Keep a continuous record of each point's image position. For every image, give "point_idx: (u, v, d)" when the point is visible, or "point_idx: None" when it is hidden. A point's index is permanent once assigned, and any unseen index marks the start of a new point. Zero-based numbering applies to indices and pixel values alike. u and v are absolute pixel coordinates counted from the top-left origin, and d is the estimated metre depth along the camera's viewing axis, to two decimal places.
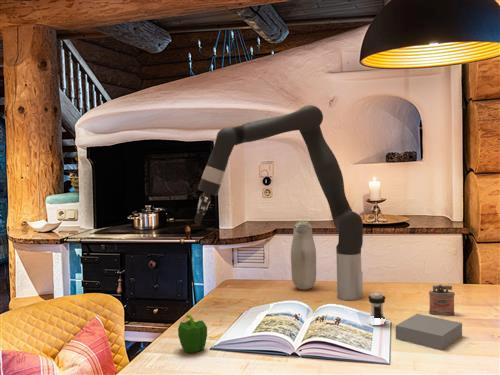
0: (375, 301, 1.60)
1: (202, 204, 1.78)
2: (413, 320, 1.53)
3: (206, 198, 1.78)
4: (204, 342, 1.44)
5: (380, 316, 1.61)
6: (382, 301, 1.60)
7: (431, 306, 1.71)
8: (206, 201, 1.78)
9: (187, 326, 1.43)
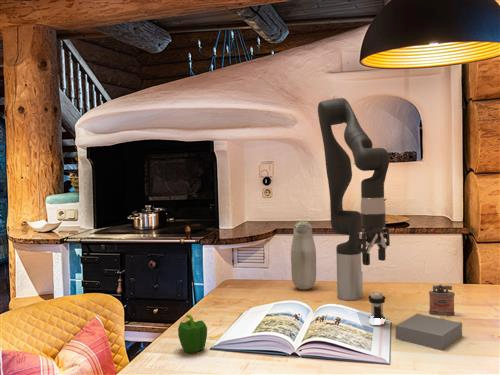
0: (375, 301, 1.60)
1: None
2: (413, 320, 1.53)
3: None
4: (204, 342, 1.44)
5: (380, 316, 1.61)
6: (382, 301, 1.60)
7: (431, 306, 1.71)
8: None
9: (187, 326, 1.43)
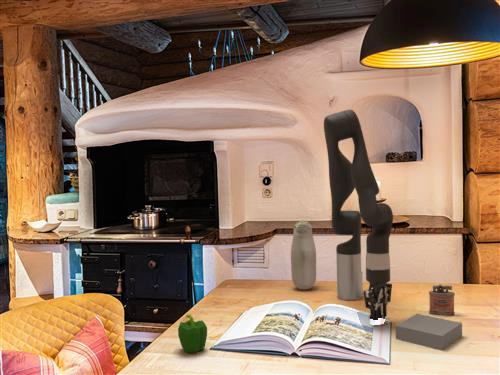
0: None
1: None
2: (413, 320, 1.53)
3: None
4: (204, 342, 1.44)
5: (380, 316, 1.61)
6: (382, 301, 1.60)
7: (431, 306, 1.71)
8: None
9: (187, 326, 1.43)
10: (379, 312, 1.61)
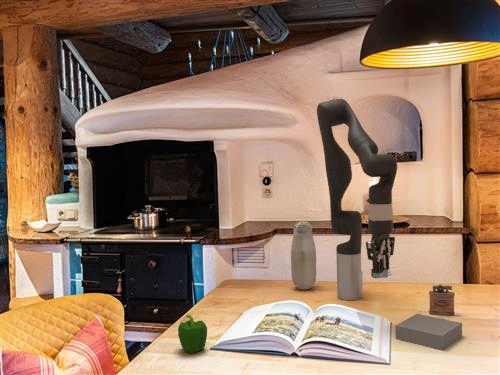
0: None
1: None
2: (413, 320, 1.53)
3: None
4: (204, 342, 1.44)
5: (383, 268, 1.59)
6: (385, 253, 1.58)
7: (431, 306, 1.71)
8: None
9: (187, 326, 1.43)
10: (382, 264, 1.59)
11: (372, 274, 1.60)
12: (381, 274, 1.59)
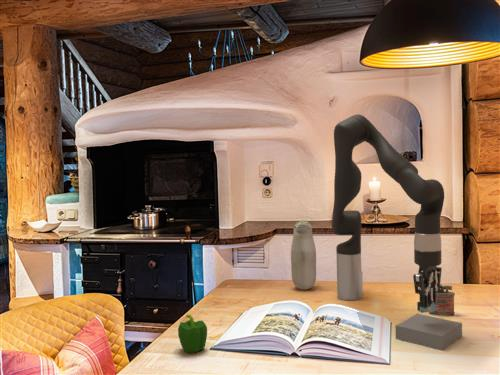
0: None
1: None
2: (413, 320, 1.53)
3: None
4: (204, 342, 1.44)
5: (430, 302, 1.48)
6: (433, 285, 1.47)
7: None
8: None
9: (187, 326, 1.43)
10: (429, 298, 1.48)
11: (418, 308, 1.49)
12: (429, 308, 1.48)
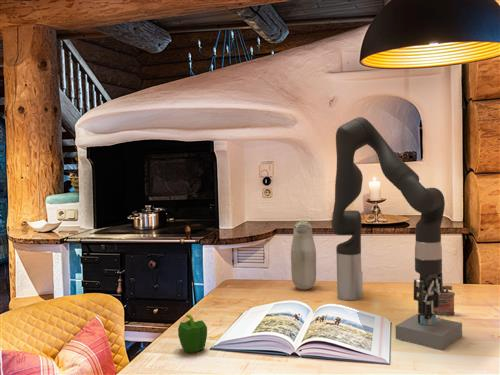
0: None
1: None
2: (413, 320, 1.53)
3: None
4: (204, 342, 1.44)
5: (431, 314, 1.48)
6: (433, 298, 1.47)
7: None
8: None
9: (187, 326, 1.43)
10: (429, 310, 1.49)
11: (419, 320, 1.50)
12: (429, 321, 1.48)
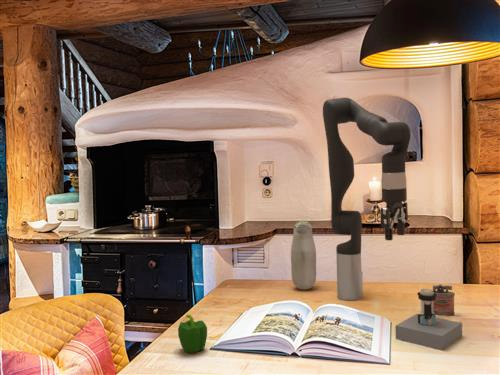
0: (426, 298, 1.47)
1: None
2: (413, 320, 1.53)
3: None
4: (204, 342, 1.44)
5: (431, 314, 1.48)
6: (433, 298, 1.47)
7: None
8: None
9: (187, 326, 1.43)
10: (429, 310, 1.49)
11: (419, 320, 1.50)
12: (429, 321, 1.48)
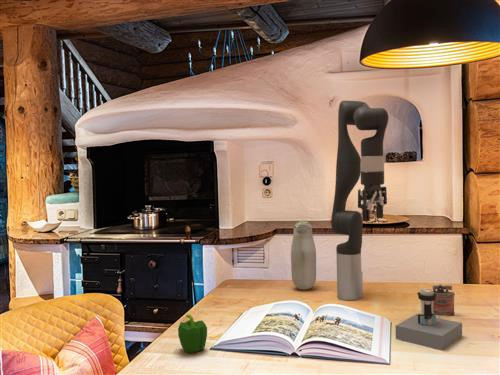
0: (426, 298, 1.47)
1: None
2: (413, 320, 1.53)
3: None
4: (204, 342, 1.44)
5: (431, 314, 1.48)
6: (433, 298, 1.47)
7: None
8: None
9: (187, 326, 1.43)
10: (429, 310, 1.49)
11: (419, 320, 1.50)
12: (429, 321, 1.48)
